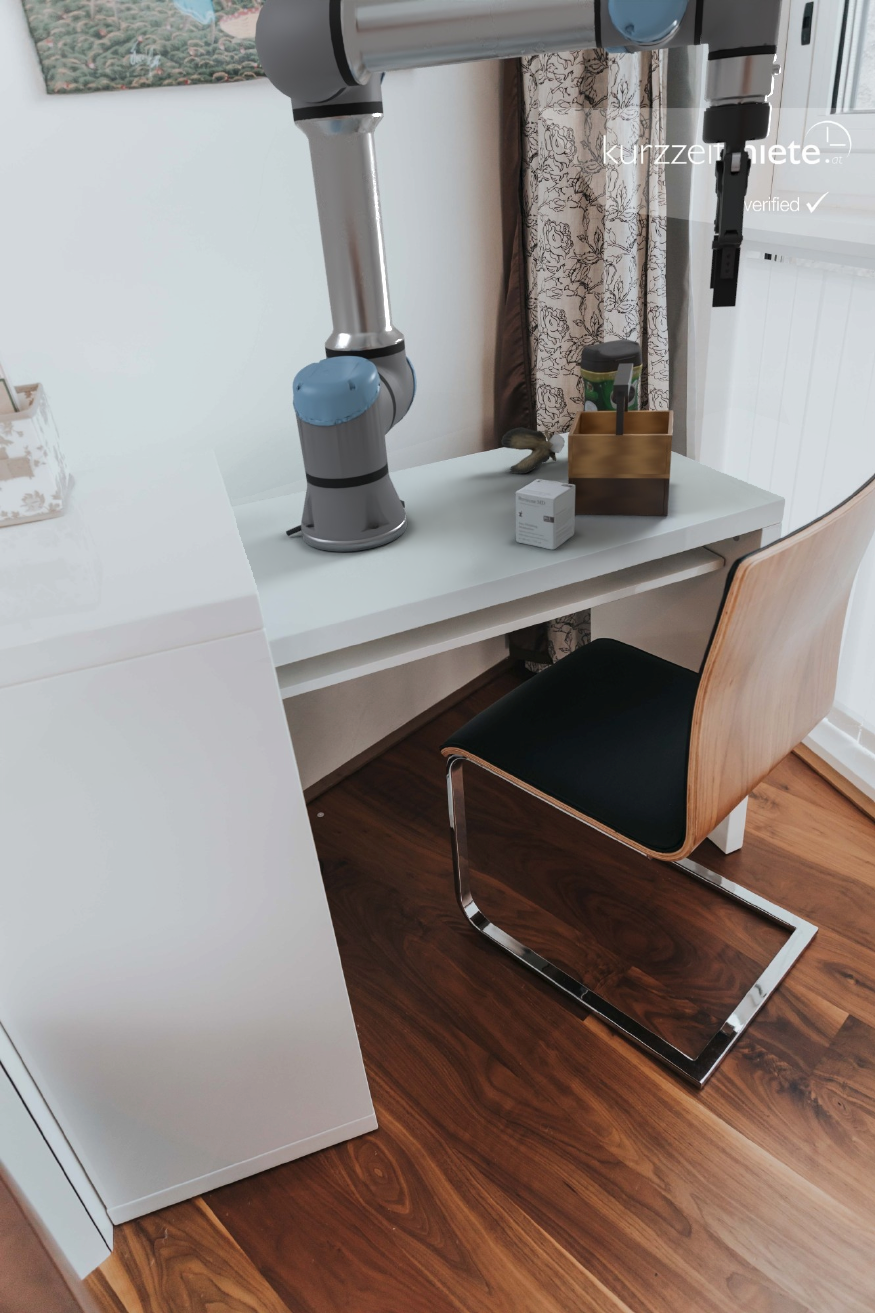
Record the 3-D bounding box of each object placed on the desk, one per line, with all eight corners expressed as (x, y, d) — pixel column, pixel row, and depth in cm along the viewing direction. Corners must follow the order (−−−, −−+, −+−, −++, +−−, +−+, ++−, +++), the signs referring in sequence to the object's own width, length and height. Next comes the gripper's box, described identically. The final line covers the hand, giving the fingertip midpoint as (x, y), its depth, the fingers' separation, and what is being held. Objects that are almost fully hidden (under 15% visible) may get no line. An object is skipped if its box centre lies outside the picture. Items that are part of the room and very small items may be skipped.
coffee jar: (619, 444, 153) (623, 333, 144) (647, 456, 147) (652, 340, 137) (572, 455, 150) (572, 342, 140) (597, 468, 144) (599, 350, 134)
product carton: (515, 543, 120) (513, 491, 117) (537, 527, 124) (536, 477, 121) (554, 550, 117) (554, 498, 113) (576, 534, 121) (576, 483, 118)
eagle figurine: (535, 446, 152) (493, 448, 147) (555, 415, 147) (511, 416, 142) (555, 479, 149) (513, 482, 144) (576, 449, 143) (532, 451, 139)
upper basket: (567, 483, 125) (567, 385, 118) (576, 455, 135) (577, 364, 128) (669, 484, 122) (675, 383, 115) (670, 456, 132) (676, 362, 125)
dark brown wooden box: (567, 514, 128) (567, 477, 125) (576, 485, 138) (576, 450, 135) (667, 516, 124) (669, 478, 122) (669, 486, 134) (671, 450, 132)
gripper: (781, 97, 91) (759, 313, 102) (764, 100, 112) (747, 279, 123) (706, 104, 93) (691, 316, 104) (703, 105, 114) (691, 282, 125)
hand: (721, 296), depth 113 cm, fingers open, 13 cm apart
